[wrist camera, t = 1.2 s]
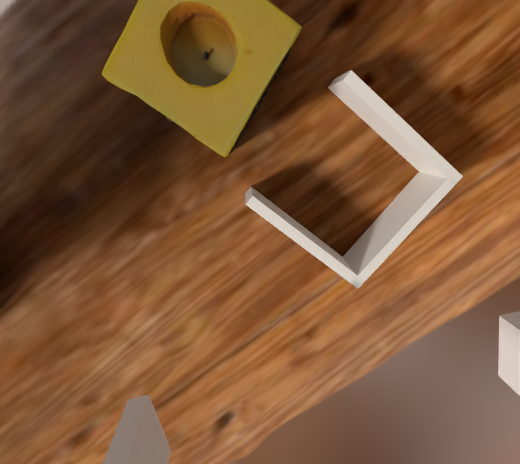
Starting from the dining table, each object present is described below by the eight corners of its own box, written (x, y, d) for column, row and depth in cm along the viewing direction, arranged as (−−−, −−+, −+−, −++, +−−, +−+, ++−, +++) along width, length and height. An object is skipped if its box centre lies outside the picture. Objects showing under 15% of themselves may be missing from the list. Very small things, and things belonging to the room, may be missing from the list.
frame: (245, 193, 34) (245, 204, 30) (334, 78, 31) (351, 69, 27) (343, 268, 37) (358, 288, 33) (432, 169, 35) (463, 176, 30)
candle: (231, 153, 33) (227, 164, 24) (139, 94, 31) (94, 79, 22) (288, 59, 31) (309, 29, 21) (193, -12, 29) (170, -81, 19)
